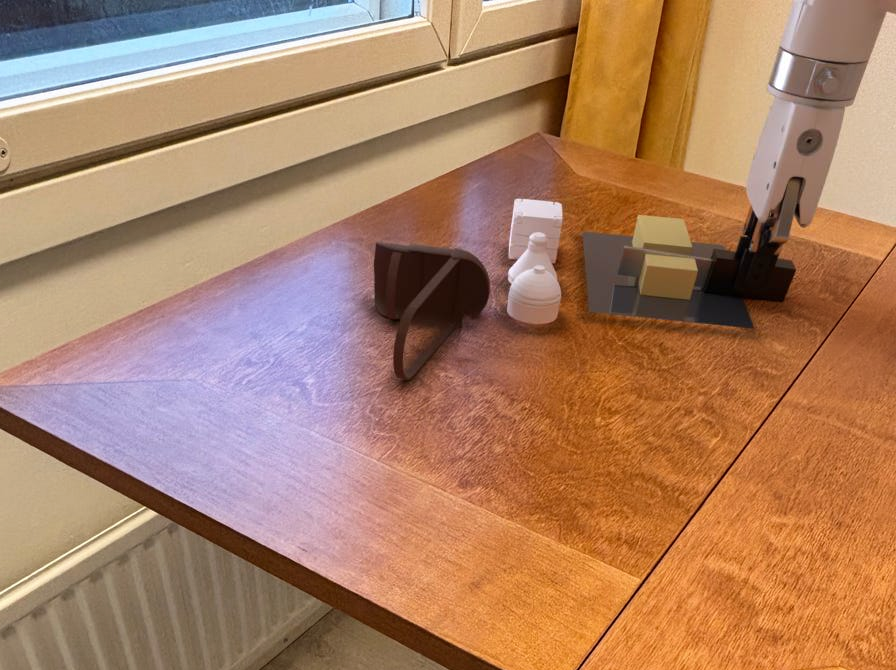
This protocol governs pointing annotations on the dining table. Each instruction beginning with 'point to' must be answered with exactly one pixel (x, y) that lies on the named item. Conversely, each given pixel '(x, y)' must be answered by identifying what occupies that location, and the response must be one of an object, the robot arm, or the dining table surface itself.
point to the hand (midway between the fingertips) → (746, 283)
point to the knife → (716, 272)
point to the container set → (534, 261)
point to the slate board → (625, 299)
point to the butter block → (662, 235)
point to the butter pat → (667, 276)
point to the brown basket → (427, 292)
